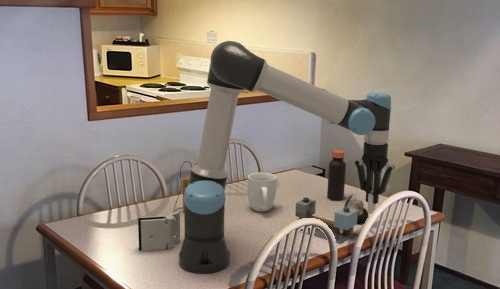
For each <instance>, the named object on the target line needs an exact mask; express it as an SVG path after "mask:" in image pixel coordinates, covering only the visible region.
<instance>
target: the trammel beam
mask: <svg viewBox="0 0 500 289" xmlns="http://www.w3.org/2000/svg"><path fill="white" fill-rule="evenodd" d="M316 203H317V202H316V199H313V198H309V197H306V196H305V197H303V198H302V199H301V200H299V201H297V202H295V213H294V214H295V217H297V218H298V220H299V219H302V218H316V219H320V220H321V221H323V222H324V223H326V224H327V225H328V227H329V228H330V229H332V230H335V231H339V232H340V228H338V227H334V221H333V220H329V219H327V218H323V217H318V216H315V214H316V207H317V206H316V205H317V204H316ZM343 233H345V234H349V235H350V237H349V238H351V237H352V236H354V226H353V227H352V228H350V229H348V230H345V229H343Z"/></svg>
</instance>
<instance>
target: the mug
mask: <svg viewBox="0 0 500 289" xmlns="http://www.w3.org/2000/svg"><path fill="white" fill-rule="evenodd" d="M276 192H277V175H275V174H273V173H270V172H253V173H249V174H248V176H247V197H248V201H249V204H250V206H251V208H252V210H253V211H255V212H258V213H259V212H262V213H265V212H268V211H270V210H271V209H272V207H273V205H274V202H275V199H276V195H277V193H276Z"/></svg>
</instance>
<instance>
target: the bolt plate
mask: <svg viewBox="0 0 500 289" xmlns="http://www.w3.org/2000/svg"><path fill="white" fill-rule="evenodd" d="M331 230H332V229H331ZM300 231H303V229H301V230H300ZM300 231H299V232H300ZM332 232H333V234H334V236H335V239H336V242H337V243H336V242H335V243H336V244H339V243H341V244H342V243H344V242H345V241H347V240H348V239H349V238H351V237H350V235H349V234H345V233H343V234H341V233H340V232H339V231H335V230H332ZM309 233H310V228H308V235H310V234H309ZM314 236H315V237H316V238H320V239H324V240H326V241H328V240H327V238H326V236H325V234H324V233H323V232H322V231H321V230H320V229H318V228H316V229H315V233H314Z"/></svg>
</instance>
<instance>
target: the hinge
mask: <svg viewBox="0 0 500 289" xmlns="http://www.w3.org/2000/svg"><path fill="white" fill-rule="evenodd" d="M137 224H138V225H137V226H138V251H141V252H149V251H150V252H151V251H164V250H165V251H166V250H167V249H168V250H170V249H174V248H175V244H176V243H179V242H181V212H180V211H175V212H174V213H171V214H167V215H155V216H153V215H151V216H140V217H138V218H137Z"/></svg>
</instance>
